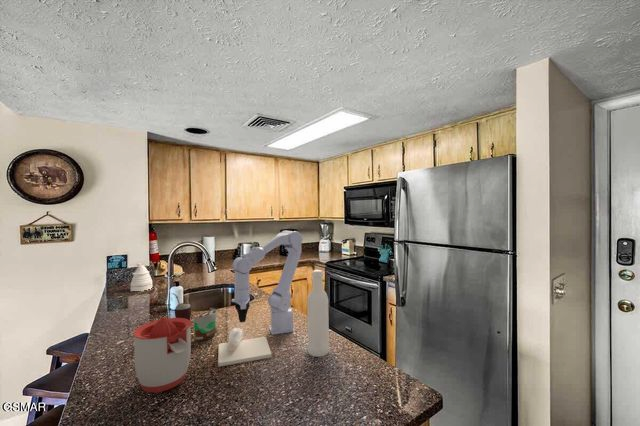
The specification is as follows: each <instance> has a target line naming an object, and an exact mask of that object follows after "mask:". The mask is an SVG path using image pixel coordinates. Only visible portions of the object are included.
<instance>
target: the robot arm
mask: <svg viewBox="0 0 640 426" xmlns="http://www.w3.org/2000/svg"><path fill="white" fill-rule="evenodd" d="M303 241H304V240H303V237H302V234H301V233H300V232H299V231H297V230H294V231H292V230H282V231H281V232H279V233H277V234H276V236H274V237H273V238H272V239H270V240H269V241H268V242H266V243H265V244H264V245H262V246H261V247H260V246H253V247H251V250H249V251H248V252H247V253H243V254H242V255H241V256H240V257H238V256H237V257H235V259H233V262H232V264H231V268H232V270H233V272H234V298H232V299H231V302H232V303H234V308H235V309H236V312H237V315H238V316H237V317H238V320H239V323H245V322H246V319H247V315H248V314H247V313H248V311H249V309H250V306H251V305H250V300H251V298H250V271H251V270H252V267H254V266H255V265H256V264H258V263H260V262H261V261H262V260H263V259H265V257H266V254H268V253H269V252H270V251H272V250H274V249H275V248H278V247H279V246H282V245H283V246H284V247H285V248H286V250H287V252H288V253H287V257H286V260H285V263H284V266H283V269H282V270H281V271H282V272H281V275H280V277H279V279H278V283H277V286H276V287H274V288H273V290H272V292H271V294H269V296H268V298H267V304H268V305H269V306H270V326H269V327H268V329H269V331H270V333H271V335H272V336H274V335H280V334H286V333H287V334H288V333H293V332H294V331H295V330H294V313H293V309H292V308H290V307H291V304H292V303H291V298H292V293H291V291H290V288H291V286H292V283H293V279H294V277H295V273H296V271H297V267H298V264H299V261H300V258H301V256H302V243H303Z"/></svg>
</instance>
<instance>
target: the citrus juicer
mask: <svg viewBox="0 0 640 426" xmlns="http://www.w3.org/2000/svg"><path fill="white" fill-rule="evenodd" d="M191 326H192V321H191V319H190V320H188V319H185V318H176V317H165V316H163V317H161V318H160V319H158V320H154V321H150V322H147V323H144V324H142V325H140V326H138V327H137V328H136V329H134V331H133V334H132V336H133V337H134V338H133V340H134V343H133V345H134V350H133V351H134V369H135V374H136V377H137V380H138V383H139V385H140V387H141V389H142V391H144V392H146V393H152V394H153V393H162V392H164V391H169V390H171V389H173V388H175V387H177V386H179V385H180V384H181V383H182V382H183V381H184V379H186V375H187V373H188V370H189V364H190V360H191V355H192V354H191V353H192V352H191V351H192V348H191V344H192V343H191V342H192V340H191V335H192V334H191V333H192V332H191Z"/></svg>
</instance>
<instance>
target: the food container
mask: <svg viewBox="0 0 640 426" xmlns="http://www.w3.org/2000/svg"><path fill="white" fill-rule="evenodd" d="M217 317H218V311H217V310H216V308H213V307H210V308H209V310H208V311H206V312H203V313H201V314H200V315H199V316H198V317H193V319H192V323H193V325H194V326H193V327H194V337H195V338H194V339H195V342H204V341H208V340H211V339H212V338H214V337H215V336H216V322H217V321H216V319H217Z"/></svg>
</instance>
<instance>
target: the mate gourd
mask: <svg viewBox="0 0 640 426" xmlns="http://www.w3.org/2000/svg"><path fill="white" fill-rule="evenodd" d="M171 294H172V295H174V296H175V298H176V300H177V303H178V304H176V306H175V308H174V316H175V317H174V318H185V319H188V320H190V321H191V316H192V307H191V304H190V303H189V302H180V300H179V296H178V295H177V294H175V293H174V292H173V293H171Z"/></svg>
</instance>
